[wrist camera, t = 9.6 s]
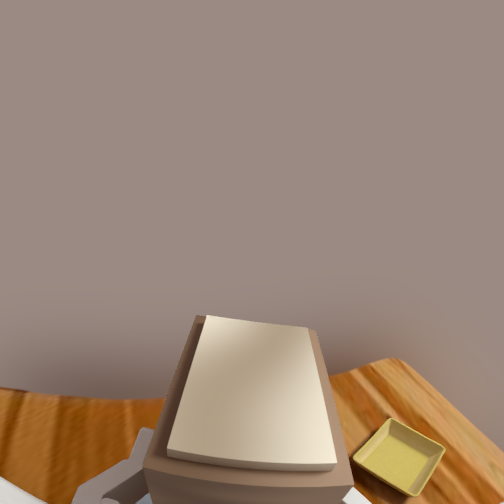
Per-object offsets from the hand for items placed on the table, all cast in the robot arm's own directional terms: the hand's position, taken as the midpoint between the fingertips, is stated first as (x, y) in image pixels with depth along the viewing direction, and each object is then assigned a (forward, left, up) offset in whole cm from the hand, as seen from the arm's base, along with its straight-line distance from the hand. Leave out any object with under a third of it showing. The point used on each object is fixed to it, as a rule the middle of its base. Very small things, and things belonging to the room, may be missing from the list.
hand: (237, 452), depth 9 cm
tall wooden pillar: (0, +1, -7) cm, 7 cm away
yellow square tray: (-18, -10, -18) cm, 27 cm away
